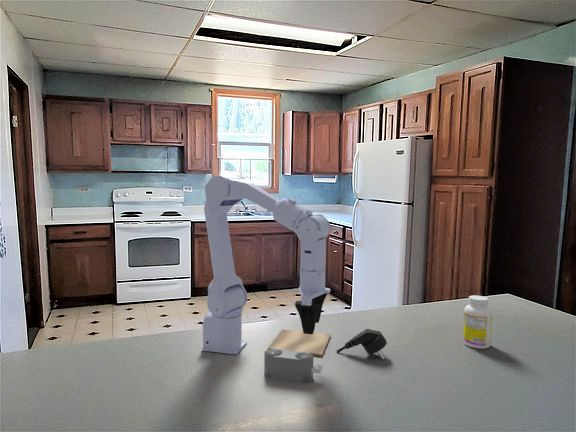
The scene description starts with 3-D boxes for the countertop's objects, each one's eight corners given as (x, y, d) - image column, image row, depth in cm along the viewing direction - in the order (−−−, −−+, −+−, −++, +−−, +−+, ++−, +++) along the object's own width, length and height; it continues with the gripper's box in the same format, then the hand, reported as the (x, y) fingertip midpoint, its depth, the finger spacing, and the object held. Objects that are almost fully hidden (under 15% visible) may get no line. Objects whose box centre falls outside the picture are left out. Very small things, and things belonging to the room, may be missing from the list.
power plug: (336, 344, 106) (375, 321, 104) (352, 369, 106) (392, 346, 104) (334, 353, 101) (375, 329, 98) (351, 379, 101) (393, 356, 98)
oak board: (267, 350, 104) (267, 348, 104) (281, 331, 118) (281, 329, 118) (322, 356, 101) (322, 354, 101) (330, 336, 114) (330, 334, 114)
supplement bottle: (474, 338, 114) (477, 293, 113) (495, 347, 108) (498, 299, 107) (457, 342, 111) (459, 295, 110) (478, 351, 105) (480, 302, 104)
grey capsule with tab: (261, 377, 90) (262, 355, 90) (267, 369, 94) (267, 348, 94) (319, 384, 87) (320, 362, 87) (322, 376, 91) (323, 354, 90)
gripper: (325, 277, 85) (324, 341, 86) (334, 263, 99) (333, 319, 100) (292, 274, 86) (291, 337, 87) (305, 262, 100) (304, 316, 102)
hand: (311, 327), depth 94 cm, fingers open, 7 cm apart
